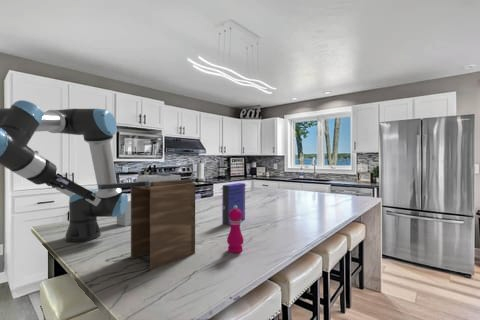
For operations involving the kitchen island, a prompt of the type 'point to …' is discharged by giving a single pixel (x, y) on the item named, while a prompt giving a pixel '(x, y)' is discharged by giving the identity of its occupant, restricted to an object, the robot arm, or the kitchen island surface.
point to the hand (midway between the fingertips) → (85, 198)
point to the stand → (163, 221)
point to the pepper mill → (235, 231)
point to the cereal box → (233, 200)
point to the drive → (142, 181)
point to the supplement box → (125, 215)
